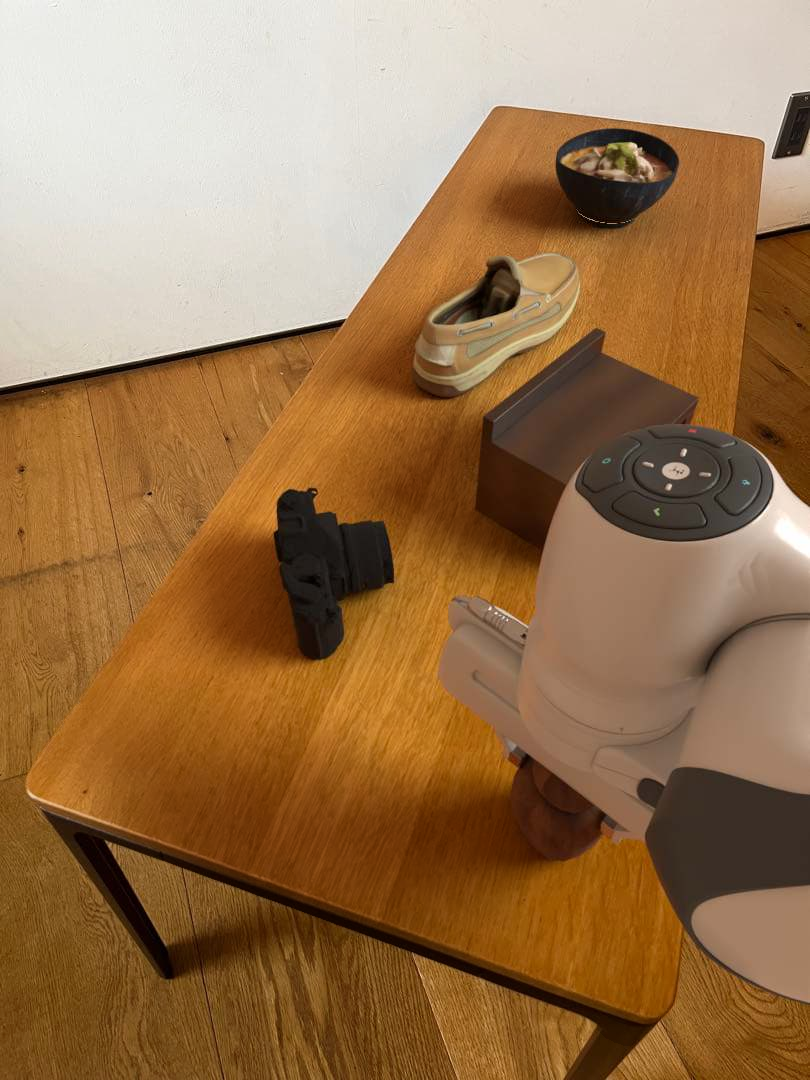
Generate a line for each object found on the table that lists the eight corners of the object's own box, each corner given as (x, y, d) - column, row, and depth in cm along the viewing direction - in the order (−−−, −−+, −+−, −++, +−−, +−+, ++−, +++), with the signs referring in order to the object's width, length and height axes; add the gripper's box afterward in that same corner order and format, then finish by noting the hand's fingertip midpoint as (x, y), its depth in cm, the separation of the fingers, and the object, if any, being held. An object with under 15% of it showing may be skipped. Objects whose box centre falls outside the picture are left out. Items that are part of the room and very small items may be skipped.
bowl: (530, 226, 115) (539, 156, 107) (573, 179, 125) (583, 112, 117) (644, 254, 109) (661, 183, 102) (679, 203, 119) (697, 134, 112)
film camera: (407, 648, 67) (406, 584, 60) (294, 668, 66) (281, 605, 59) (376, 520, 77) (372, 452, 70) (277, 535, 76) (263, 468, 69)
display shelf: (674, 470, 81) (706, 376, 72) (576, 571, 72) (599, 480, 63) (576, 419, 86) (596, 327, 77) (474, 508, 78) (482, 416, 69)
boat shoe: (596, 300, 102) (613, 217, 94) (475, 419, 87) (482, 333, 78) (527, 275, 106) (537, 194, 98) (399, 384, 91) (398, 299, 82)
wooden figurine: (613, 846, 56) (663, 750, 45) (549, 889, 54) (584, 802, 43) (554, 769, 60) (586, 663, 49) (492, 807, 58) (510, 707, 47)
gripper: (417, 615, 45) (416, 729, 55) (752, 857, 36) (676, 939, 46) (485, 552, 48) (472, 671, 58) (810, 761, 39) (726, 858, 49)
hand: (564, 791), depth 52 cm, fingers closed on wooden figurine, 6 cm apart
